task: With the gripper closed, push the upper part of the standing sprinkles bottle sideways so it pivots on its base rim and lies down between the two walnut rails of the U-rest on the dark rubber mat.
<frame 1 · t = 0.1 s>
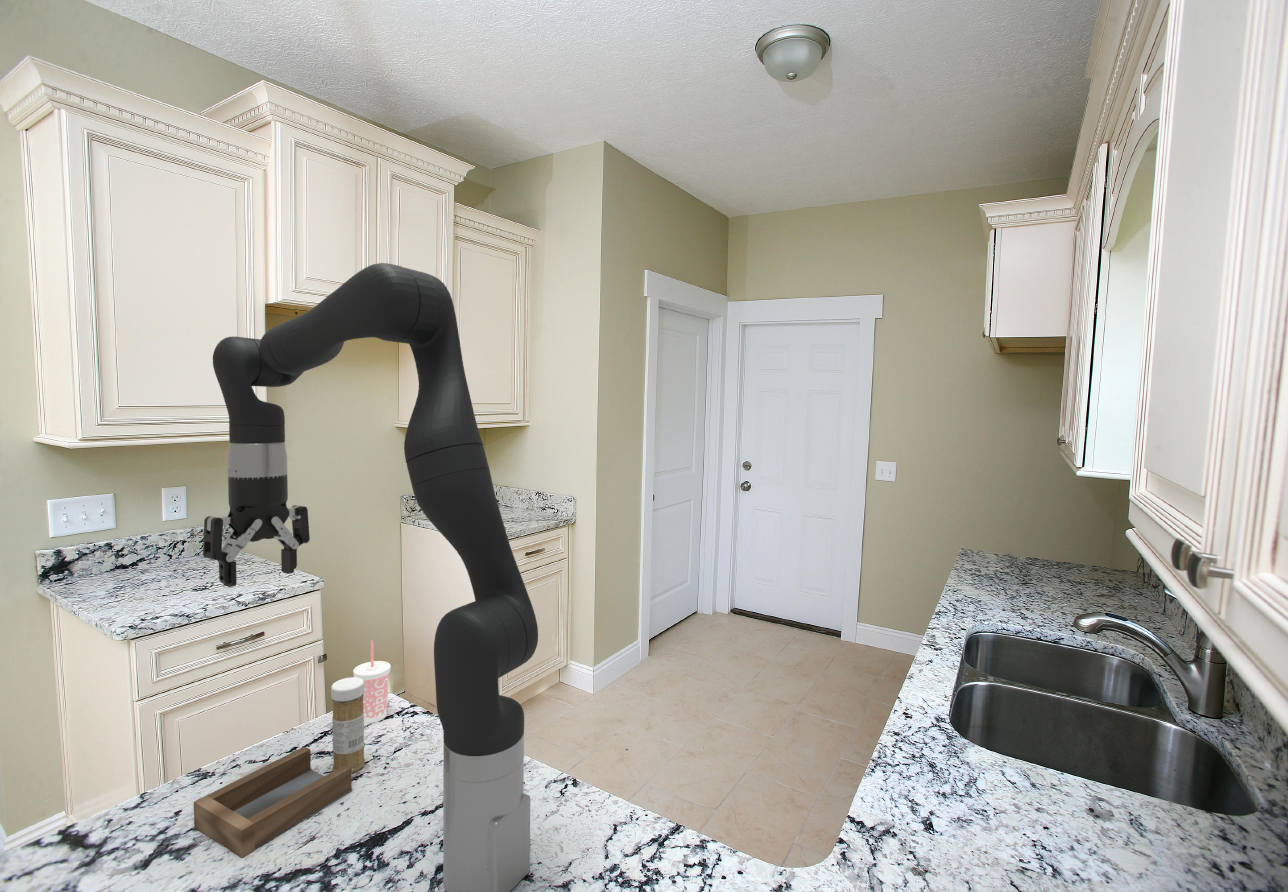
hand: (260, 579, 91), 29 cm above the countertop, tool pointing down, fingers open, 8 cm apart
u rest: (284, 804, 84), on the countertop
beverage cup: (372, 717, 108), on the countertop
sprinkles bottle: (348, 768, 93), on the countertop
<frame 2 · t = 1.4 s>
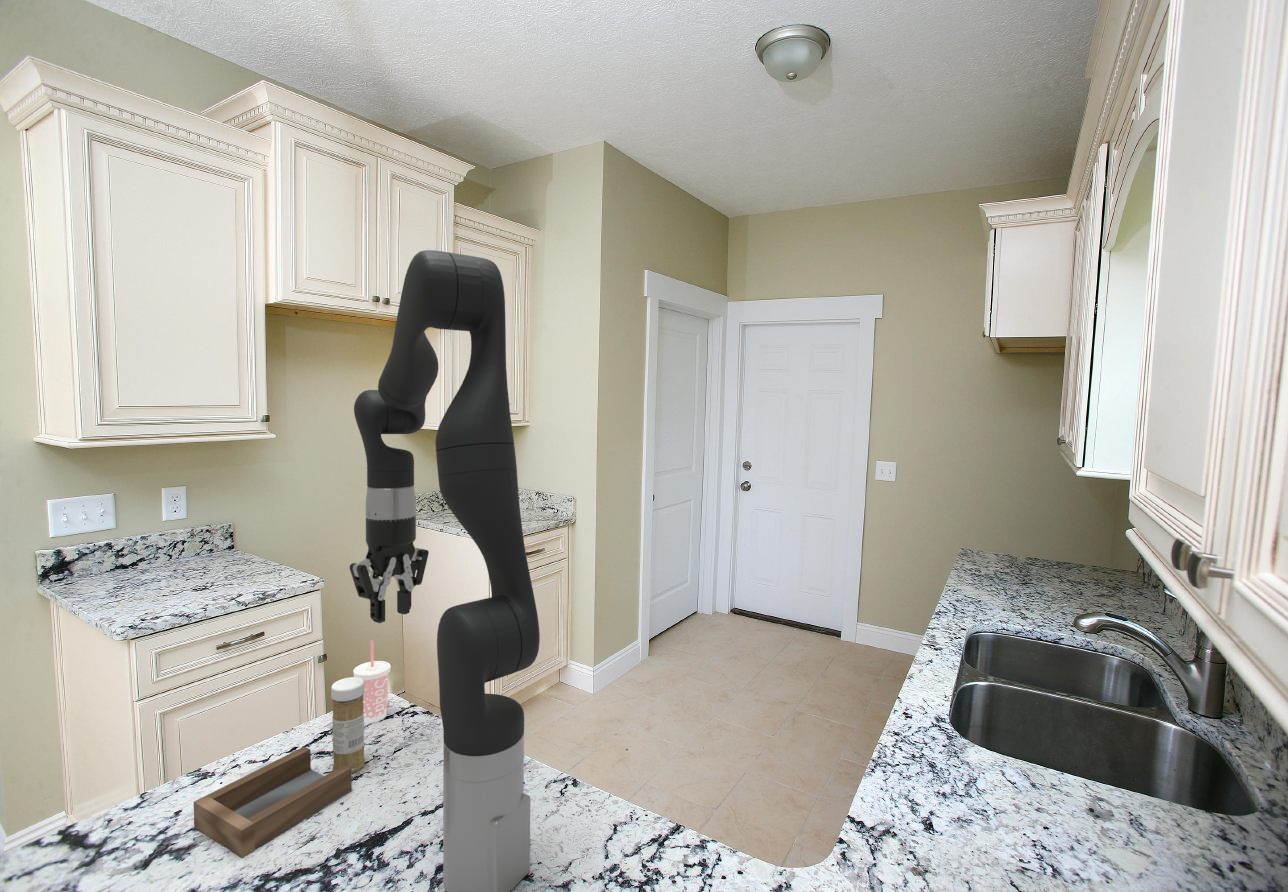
hand: (391, 616, 98), 21 cm above the countertop, tool pointing down, fingers open, 4 cm apart
nothing on the countertop moved.
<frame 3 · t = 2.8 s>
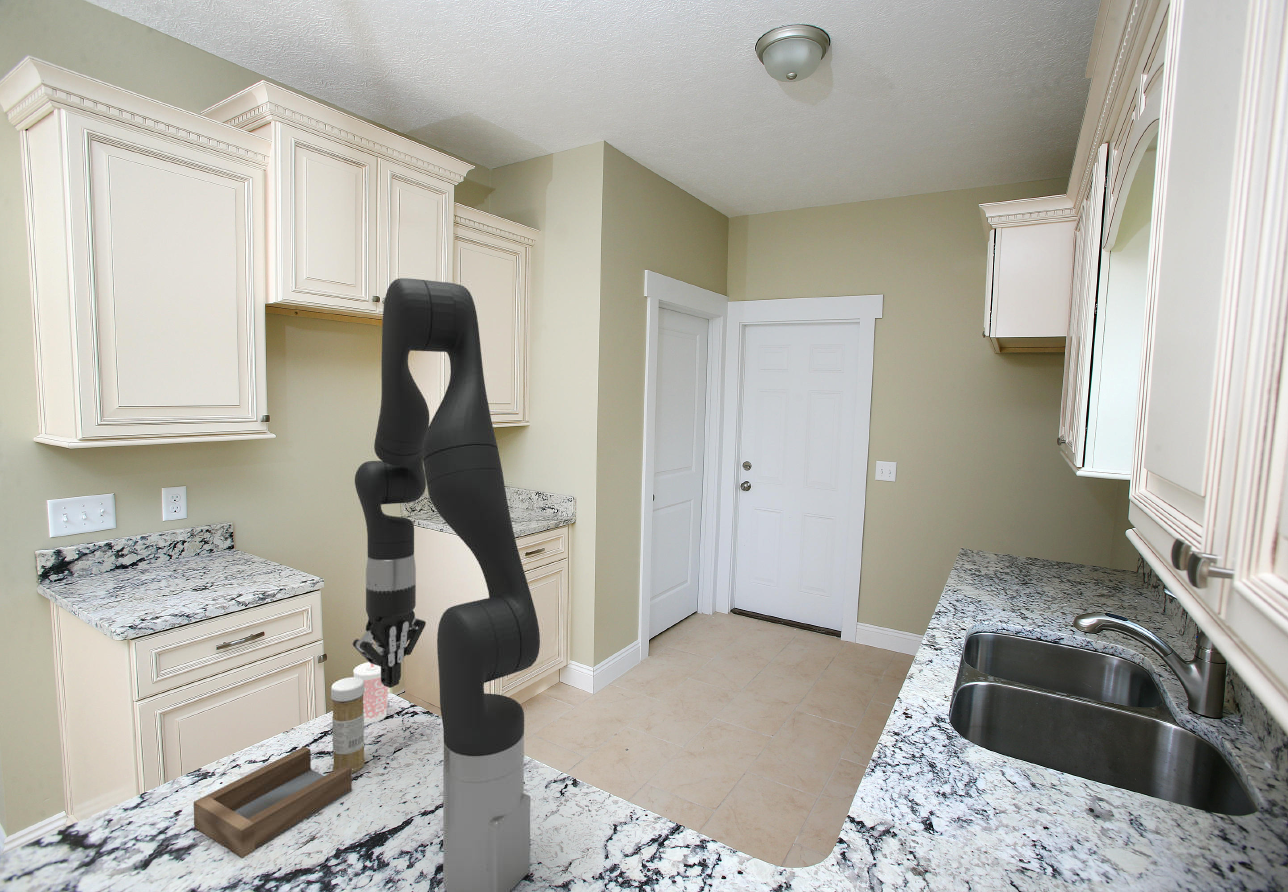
hand: (391, 684, 99), 10 cm above the countertop, tool pointing down, fingers closed
nothing on the countertop moved.
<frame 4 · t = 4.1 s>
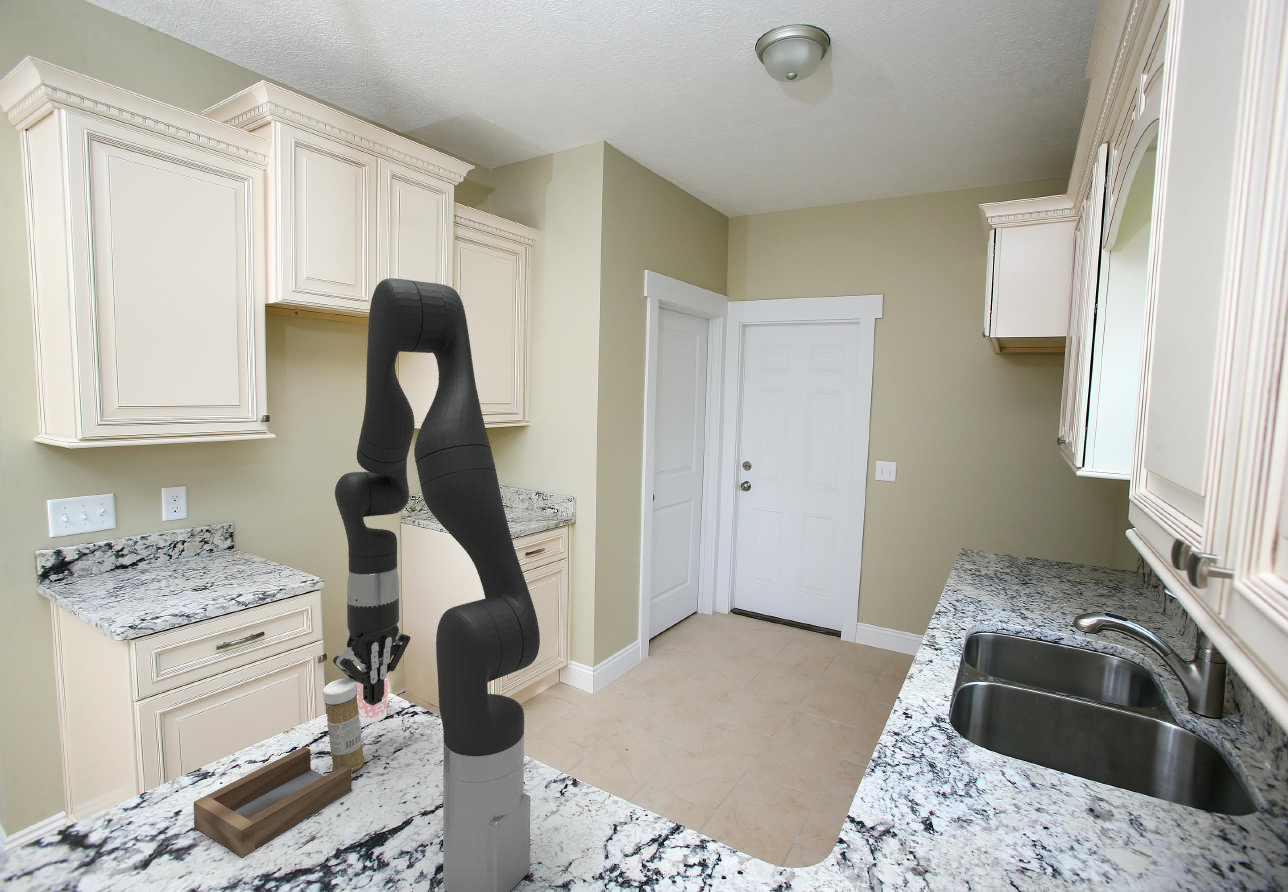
hand: (374, 702, 96), 8 cm above the countertop, tool pointing down, fingers closed
sprinkles bottle: (348, 767, 93), on the countertop, touching hand
everything else where it was.
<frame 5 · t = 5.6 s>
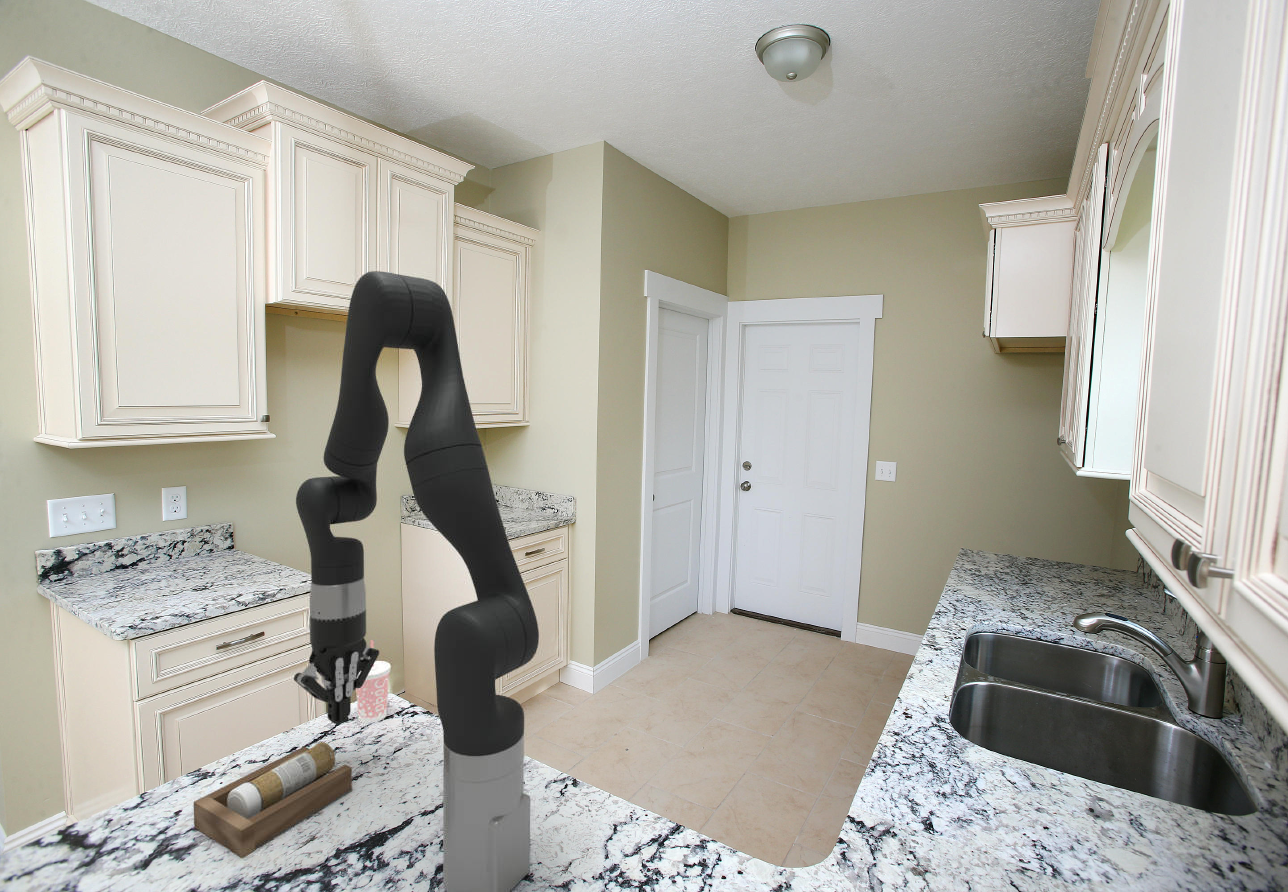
hand: (339, 721, 91), 8 cm above the countertop, tool pointing down, fingers closed
sprinkles bottle: (327, 755, 92), point 2 cm above the countertop, touching u rest
everything else where it was.
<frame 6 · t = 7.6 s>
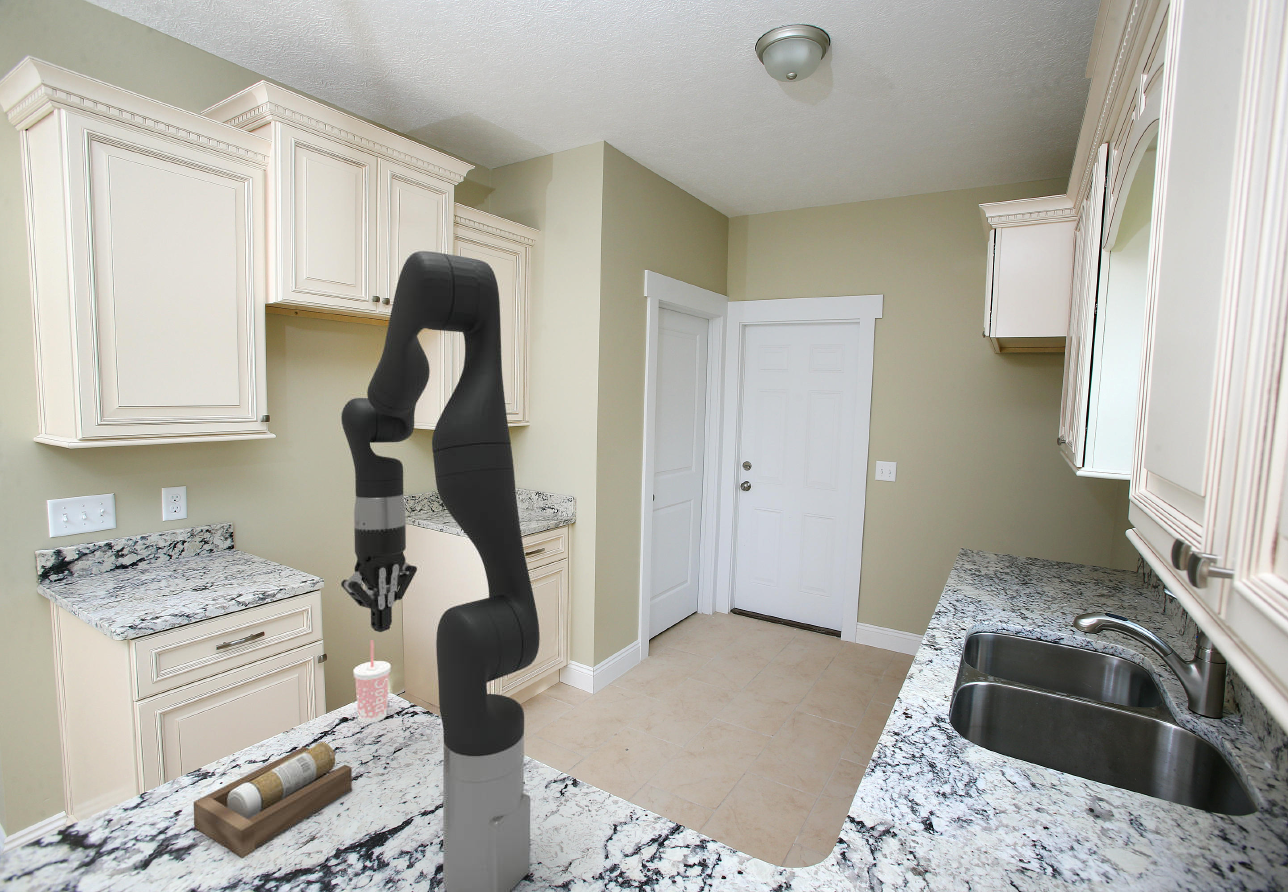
hand: (381, 629, 97), 20 cm above the countertop, tool pointing down, fingers closed
nothing on the countertop moved.
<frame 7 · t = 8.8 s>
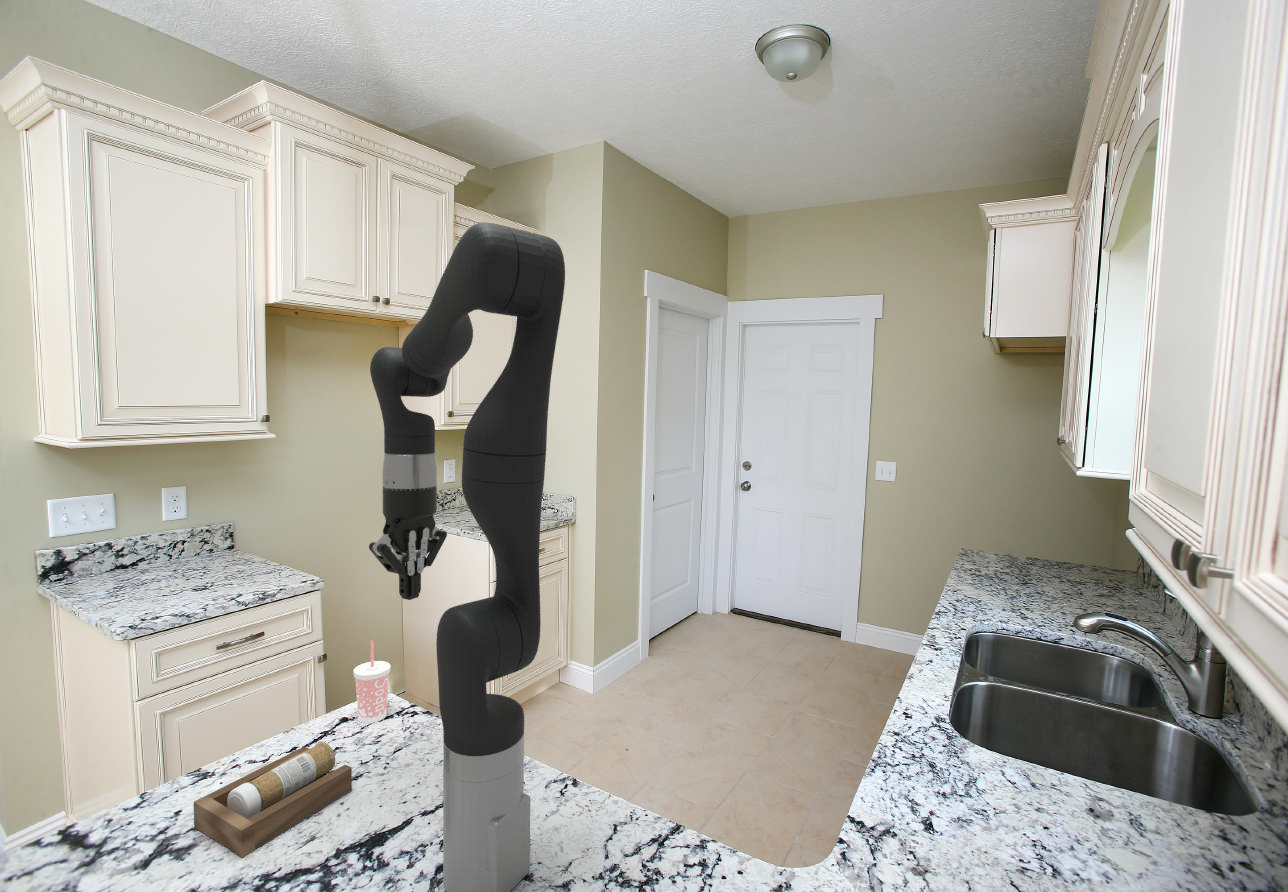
hand: (410, 597, 90), 27 cm above the countertop, tool pointing down, fingers closed
nothing on the countertop moved.
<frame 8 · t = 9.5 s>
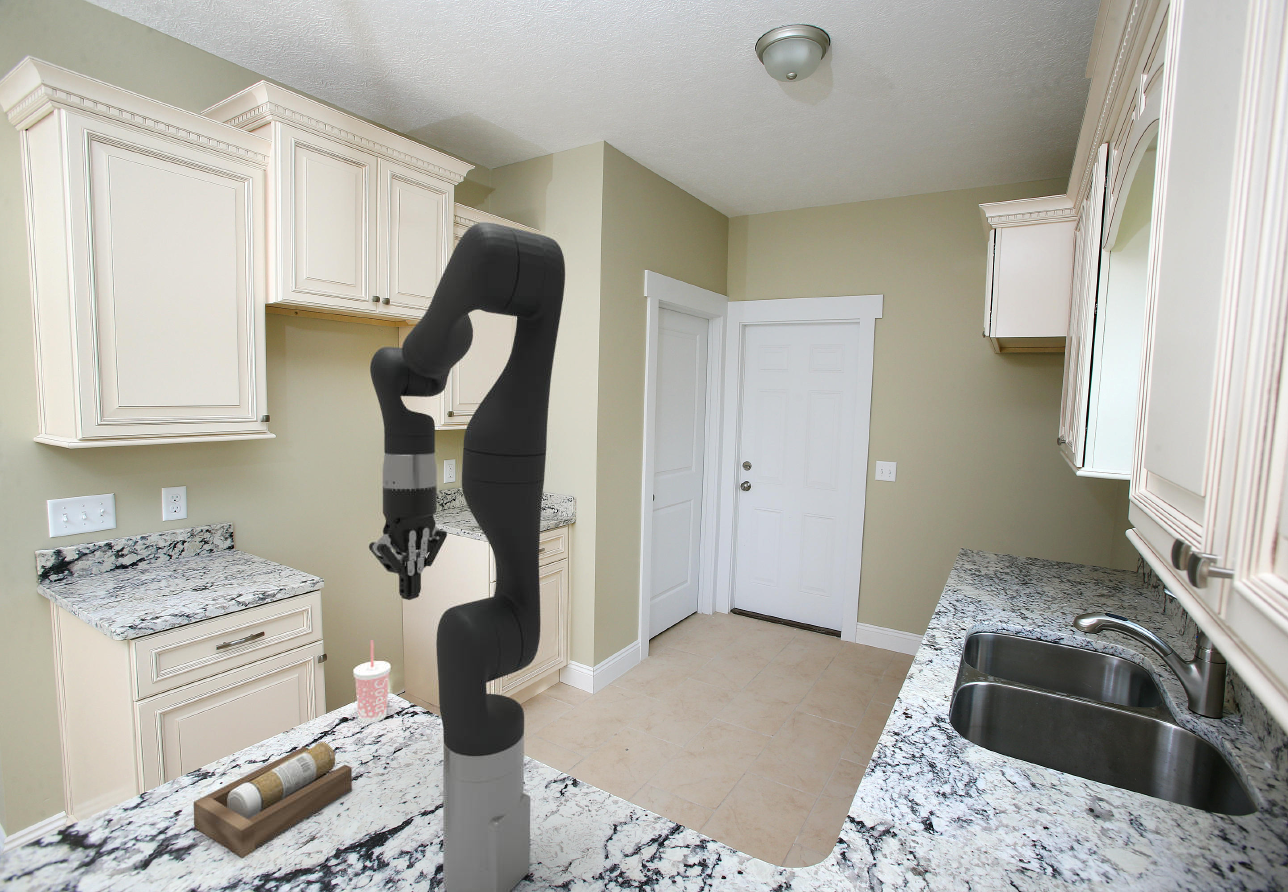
hand: (410, 597, 90), 27 cm above the countertop, tool pointing down, fingers closed
nothing on the countertop moved.
at the end: sprinkles bottle tilted 89°; sprinkles bottle inside the target area (6.2 cm from its centre), point 2.4 cm above the countertop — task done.
